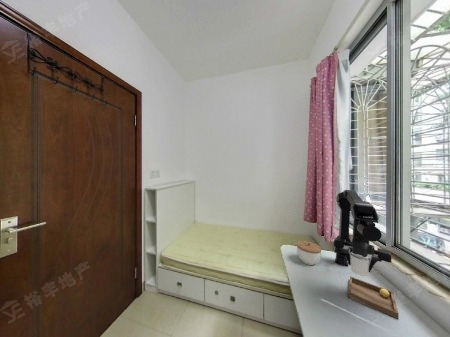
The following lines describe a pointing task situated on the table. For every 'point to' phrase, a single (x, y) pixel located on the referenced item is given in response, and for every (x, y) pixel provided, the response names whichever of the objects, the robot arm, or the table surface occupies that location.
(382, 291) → the ball
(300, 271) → the table surface
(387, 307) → the tray
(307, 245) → the lidded bowl
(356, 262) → the white cup
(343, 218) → the robot arm
